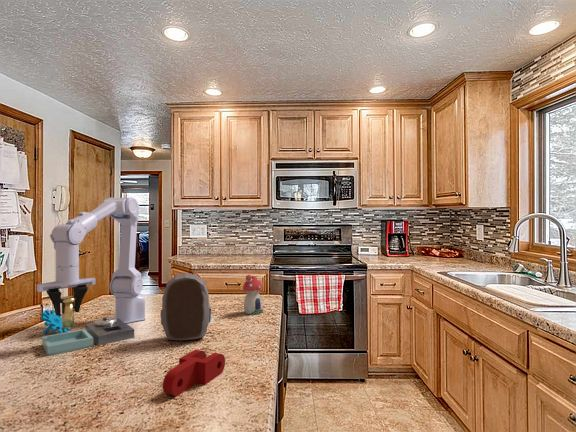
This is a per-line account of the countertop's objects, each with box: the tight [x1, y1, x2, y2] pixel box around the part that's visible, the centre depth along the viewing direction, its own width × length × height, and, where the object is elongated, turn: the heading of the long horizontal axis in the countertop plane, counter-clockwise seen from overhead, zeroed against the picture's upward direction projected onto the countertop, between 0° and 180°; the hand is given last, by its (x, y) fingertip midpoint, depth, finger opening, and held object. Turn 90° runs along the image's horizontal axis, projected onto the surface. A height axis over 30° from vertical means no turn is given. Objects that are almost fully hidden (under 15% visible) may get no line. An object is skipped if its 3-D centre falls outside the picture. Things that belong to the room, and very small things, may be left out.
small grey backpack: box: [160, 272, 213, 341], centre depth 112 cm, size 15×8×20 cm, turn 99°
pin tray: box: [41, 328, 94, 357], centre depth 105 cm, size 11×11×2 cm
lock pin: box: [60, 295, 76, 329], centre depth 105 cm, size 4×4×8 cm
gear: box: [40, 309, 72, 335], centre depth 117 cm, size 11×6×10 cm
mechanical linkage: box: [162, 349, 226, 397], centre depth 82 cm, size 16×7×5 cm, turn 157°
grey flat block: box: [85, 316, 135, 346], centre depth 115 cm, size 10×16×4 cm, turn 41°
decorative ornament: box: [242, 274, 264, 316], centre depth 141 cm, size 9×6×15 cm
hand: (67, 313), depth 105 cm, fingers closed on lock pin, 4 cm apart
